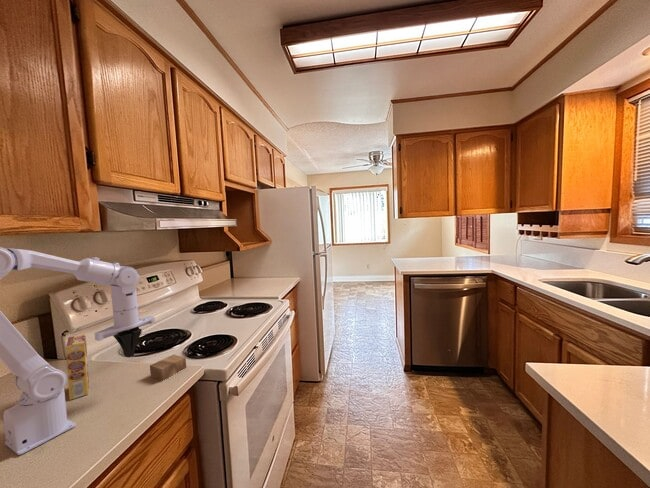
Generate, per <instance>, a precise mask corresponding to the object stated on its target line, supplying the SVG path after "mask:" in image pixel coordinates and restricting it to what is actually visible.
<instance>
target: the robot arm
mask: <svg viewBox="0 0 650 488" xmlns="http://www.w3.org/2000/svg"><path fill="white" fill-rule="evenodd" d="M31 268H35V269H42V270H47V271H55V272H61V273H67V274H72V275H74V277H75V278H76V279H77V281H82V282H88V283H93V284H94V283H95V284H100V285H109V286H110V293H111V294H110V295H111V305H112V317H113V325H112V326H111V325H110V326H109V327H106V328H104V329H101V330H99V331H96V332H94V340H96V341H97V342H98V341H99V342H101V341H103V340H104V339H107V338H110V337H113V338H114V339H115V340H116V341H117V343H118V344H119V346H120V348H121V349H122V352H123V355H124V357H127V358H131V357H134V355H135V353H136V352H135V351H136V347H137V343H138V341H139V338H140V337H141V335H142V333H143V332H142V331H143V330H142V328H141V327H144V326H147V325H150V324H151V325H152V324H156V322H155V321H156V319H155V316H153V315H149V316H145V317H141V318H139V305H138V295H137V293H138V291H137V284H138V282H139V281H140V278H141V275H140V274H139V273H138V271H137V269H135V268H134V267H132V266H123V265H120V263H119V262H115V261H114V262H113V263H112V262H108V261H102V260H100V257H94V256H92V257H91V258H90V257H87V258H83V259H80V260H79V261H78V260H74V259H69V258H64V257H60V256H57V255H51V254H47V253H44V252H43V253H42V252H39V251H35V250H30V249H21V248H11V247H9V248H8V247H7V248H5V247H2V246H0V280H2V279H3V278H5V277H6V275H8V274H9V273H10V272H11V271H24V270H26V269H31ZM0 360H1V362H2V363H4V364H5V366H6V367H7V369H9V371H10V372H11V373H12V374H13V376H14V385H15V386H16V388H17V389H19V390H21V391H22V393H21V395H20V396H19V399H18V402H17V403H16V404H15V405H13V406H12V407H9V408H7V409H5V410H4V412H3V426H4V428H3V429H4V437H5V442H4V444H5V446H7V447H8V448H9V449H11V451H13V452H14V453H15V454H16V455H17V456H21V455H23V454H25V453H28V452H29V451H31V450H33V449H35V448H36V447H39V446H40V445H42V444H44V443H47V442H48V441H50V440H52V439H54V438H55V437H57V436H59V435H61V434H63V433H65V432H67V431H69V430H71V429H72V428H74V427H76V423H75V422H74V421H71V420H70V419H69V418H68V416H67V415H68V414H67V413H68V412H67V405H66V394H65V386H66V384H67V382H68V376H67V374H66V373H65V372H64V371H62V370H61V369H57V368H56V367H54V366H52V365H51V364H50V363H49V362H47V361H46V360H45V359H44V358H43V357H42V356H40V354H38V352H37V351H36V350H35V348H34V347H33V346H32V345H31V344H30V343H29V342H28V341H27V339H25V337H24V336H23V335H22V334H21V332H20V331H19V330H18V329H17V328H16V327H15V326H14V325H13V323H12V322H11V321H10V320H9V319H8V317H6V315H5V314H4V313H3V312H2V311H1V310H0Z"/></svg>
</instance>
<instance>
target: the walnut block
mask: <svg viewBox="0 0 650 488" xmlns="http://www.w3.org/2000/svg"><path fill="white" fill-rule="evenodd" d="M185 368H186V369H187V359H186V357H185V356H181V355H177V354H172V355H170V356H167V357H165V358H163V359H160V360H158V361H157V362H155V363H152V364H150V365H149V373H150V378H153V379H155V378H156V379H155V380H158V379H159V380H158V381H161V380H162V381H161V382H164V381H166V380H167V379H170V378H172V377H174V376H175V375H177V374H179V373H180V372H179V371H181V370H183V369H185ZM186 369H185V370H186ZM183 371H184V370H183ZM178 372H179V373H178ZM181 372H182V371H181ZM176 373H177V374H176ZM174 374H175V375H174ZM173 375H174V376H173ZM171 376H172V377H171ZM169 377H170V378H169ZM165 379H166V380H165ZM163 380H164V381H163Z"/></svg>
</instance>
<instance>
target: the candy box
mask: <svg viewBox="0 0 650 488" xmlns="http://www.w3.org/2000/svg"><path fill="white" fill-rule="evenodd" d="M87 348H88V347H87V335H86V333H85V334H77V335H73V336H70V337H68V338H67V342H66V346H65V349H66V366H67V382H68V383H67V384H68V397H69V399H68V400H74V399H78V398H80V397H85V396H88V395H89V383H90V379H89V378H90V377H89V363H88V362H89V361H88V349H87Z"/></svg>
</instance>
